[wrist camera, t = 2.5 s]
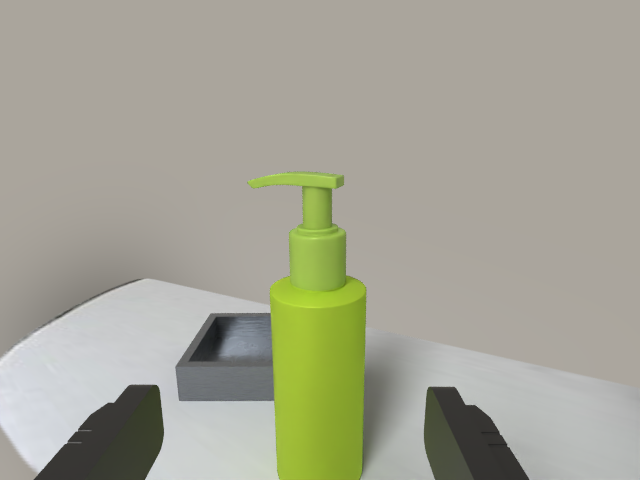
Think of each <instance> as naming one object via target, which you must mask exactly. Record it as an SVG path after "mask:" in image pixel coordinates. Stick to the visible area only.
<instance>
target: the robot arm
mask: <svg viewBox="0 0 640 480" xmlns="http://www.w3.org/2000/svg"><path fill="white" fill-rule="evenodd" d="M163 436H164V427H163V417H162V408H161V399H160V390H159V387H158V386H157V385H129V386H128V387H127V388H126V389H125V390H124V392H123V393H122V394H121V395H120V396H119V398H118V399H117V400H116V401H115V402H114V403H107V404H106V405H104V406H103V407H101V408H100V409H98V410H97V411H96V412H94V413H93V414H91V415H90V416H89V417H88V418H87V420H86V421H85V422H84V423H83V424H82V425H81V426H80V428H79V429H78V432H75V433H74V434H73V436H72V437H71V438H70V439H69V440H68V443H67V444H65V445H64V446H63V447H62V448H61V449H60V450H59V452H58V453H57V454H56V455H55V456H54V457H53V458H52V460H51V461H50V462H49V463H48V464H47V465H46V466H45V468H44V469H43V470H42V471H41V472H40V473H39V474H38V476H37V477H36V478H35V479H34V480H145V478H146V477H147V475H148V473H149V471H150V469H151V467H152V465H153V464H154V462H155V460H156V458H157V456H158V454H159V452H160V450H161V446H162V442H163ZM424 443H425V449H426V454H427V457H428V460H429V463H430V466H431V469H432V472H433V475H434V478H435V480H529V478H528V477H527V475H526V473H525V472H524V470H523V469H522V467H521V466H520V464H519V462H518V461H517V459H516V458H515V456H514V454H513V453H512V451H511V450H510V448H509V447H507V443H506V442H505V440H504V439H503V437H502V435H500V433H499V431H498V429H497V427H496V426H495V424H494V423H493V421H492V419H491V418H490V417H489V416H488V415H487V414H485V413H484V412H483V411H482V410H480V409H479V408H478V407H477V406H476V405H465V403H464V401H463V400H462V398H461V396H460V394H459V393H458V391H457V389H456V388H455V387H428V390H427V397H426V410H425V424H424Z"/></svg>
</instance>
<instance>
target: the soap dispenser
mask: <svg viewBox="0 0 640 480" xmlns="http://www.w3.org/2000/svg"><path fill="white" fill-rule="evenodd" d="M247 183H248V184H249V185H250V186H251V187H252V188H259V187H264V186H270V185H297V186H302V189H303V190H302V192H303V193H302V194H303V224H300V225H298V226H297V228H295V229H292V230H291V231H290V232H289V252H290V253H289V254H290V276H288V277H285V278H283V279H280V280H278V281H277V282H275V283H274V284H273V285H272V286H271V288H270V308H271V332H272V356H273V379H274V403H275V427H276V451H277V471H278V476H279V479H280V480H359V479H360V477H361V473H362V457H363V413H364V369H365V326H366V325H365V324H366V287H365V285H364V284H363V283H362V282H361V281H359V280H357V279H355V278H353V277H350V276H346V232H345V230H343V229H341V228H338V226H337V225H336V224H332V188H334V189H336V188H339V187H341V186H343V185H344V176H343V175H336V174H328V173H318V172H287V173H280V174H275V175H270V176H265V177H261V178H257V179H254V180H250V181H248V182H247Z"/></svg>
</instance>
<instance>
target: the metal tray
mask: <svg viewBox="0 0 640 480" xmlns="http://www.w3.org/2000/svg"><path fill="white" fill-rule="evenodd" d="M175 368H176V376H177V385H178V394H179V401H213V400H274V379H273V356H272V332H271V313H215V314H210V315H209V317H208V319H207V320H206V322H205V323H204V325H203V326H202V328H201V329H200V331H199V332H198V334H197V335H196V337H195V338H194V340H193V341H192V343H191V344H190V346H189V347H188V349H187V350H186V352H185V353H184V355H183V356H182V358H181V359H180V361H179V362H178V364H177V365H176V367H175Z"/></svg>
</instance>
